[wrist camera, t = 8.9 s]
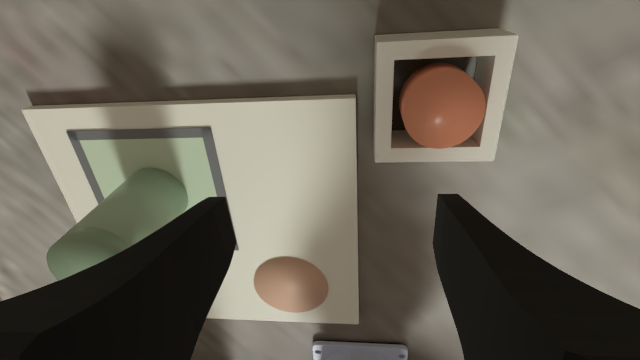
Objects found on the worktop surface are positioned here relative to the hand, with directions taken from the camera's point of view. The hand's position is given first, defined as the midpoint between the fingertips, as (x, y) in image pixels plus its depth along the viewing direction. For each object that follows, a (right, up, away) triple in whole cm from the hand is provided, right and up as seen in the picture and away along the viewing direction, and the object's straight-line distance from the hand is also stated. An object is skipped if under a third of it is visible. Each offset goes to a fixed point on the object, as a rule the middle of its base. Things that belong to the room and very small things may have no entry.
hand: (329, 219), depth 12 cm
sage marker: (-11, 0, +11) cm, 16 cm away
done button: (+5, +5, +6) cm, 10 cm away
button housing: (+6, +6, +7) cm, 11 cm away
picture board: (-8, -2, +13) cm, 15 cm away
